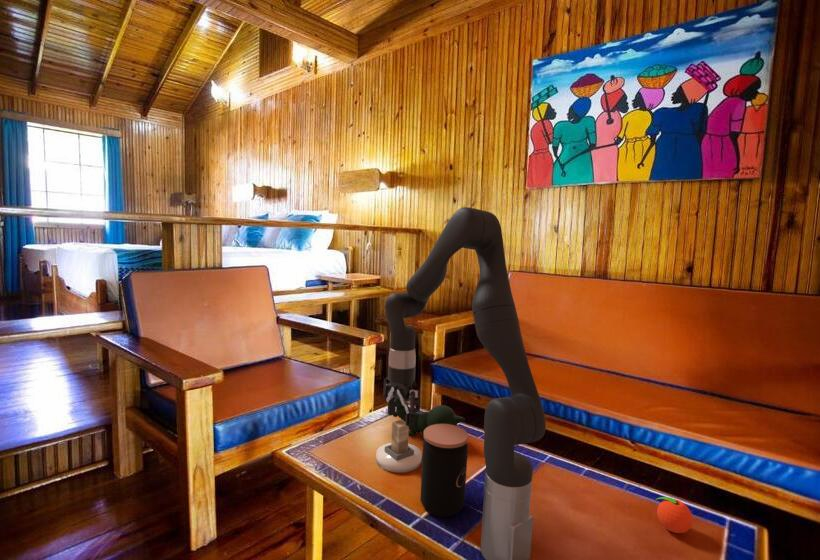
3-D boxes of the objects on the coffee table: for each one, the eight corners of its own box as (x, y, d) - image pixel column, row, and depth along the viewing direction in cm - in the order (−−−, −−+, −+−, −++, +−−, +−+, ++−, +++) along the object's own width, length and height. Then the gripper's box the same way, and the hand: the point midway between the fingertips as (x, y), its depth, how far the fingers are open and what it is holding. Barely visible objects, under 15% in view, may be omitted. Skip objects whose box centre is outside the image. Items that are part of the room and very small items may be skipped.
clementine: (646, 526, 100) (649, 497, 99) (655, 513, 105) (659, 485, 104) (686, 545, 94) (690, 515, 93) (694, 530, 99) (698, 501, 98)
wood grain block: (407, 454, 123) (408, 424, 122) (397, 457, 121) (399, 427, 120) (400, 449, 126) (401, 419, 125) (391, 452, 124) (392, 422, 123)
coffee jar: (462, 522, 99) (466, 447, 96) (416, 514, 101) (419, 441, 98) (465, 494, 109) (470, 426, 107) (424, 487, 111) (427, 420, 109)
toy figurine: (388, 437, 141) (460, 452, 128) (385, 380, 139) (458, 389, 127) (402, 426, 149) (471, 439, 137) (400, 372, 147) (469, 380, 135)
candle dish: (430, 463, 123) (431, 451, 122) (393, 477, 115) (393, 465, 114) (403, 444, 133) (404, 433, 133) (367, 456, 125) (367, 444, 125)
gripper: (428, 368, 117) (426, 425, 119) (397, 355, 128) (396, 408, 130) (406, 372, 113) (404, 432, 114) (376, 359, 124) (375, 414, 125)
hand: (400, 419), depth 122 cm, fingers open, 8 cm apart
